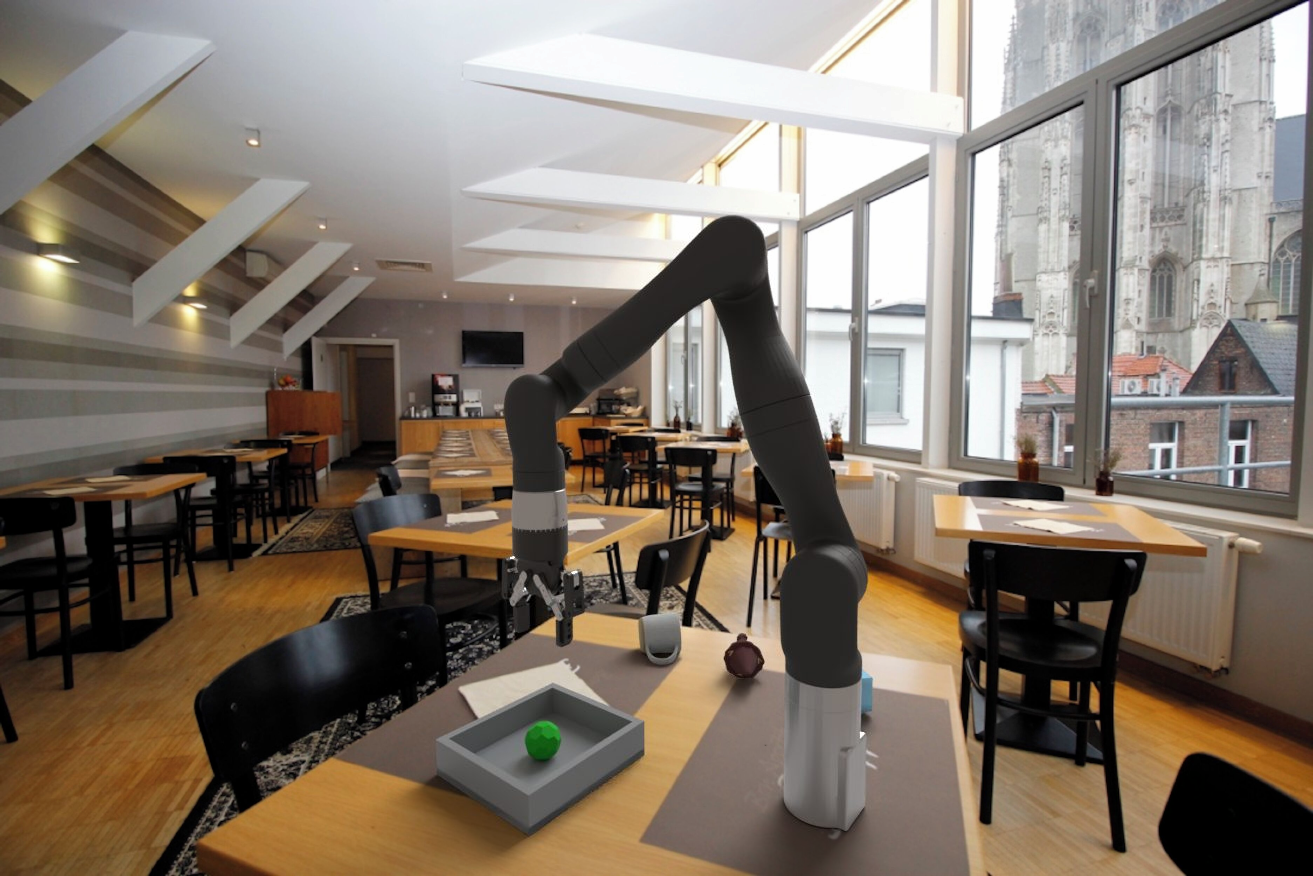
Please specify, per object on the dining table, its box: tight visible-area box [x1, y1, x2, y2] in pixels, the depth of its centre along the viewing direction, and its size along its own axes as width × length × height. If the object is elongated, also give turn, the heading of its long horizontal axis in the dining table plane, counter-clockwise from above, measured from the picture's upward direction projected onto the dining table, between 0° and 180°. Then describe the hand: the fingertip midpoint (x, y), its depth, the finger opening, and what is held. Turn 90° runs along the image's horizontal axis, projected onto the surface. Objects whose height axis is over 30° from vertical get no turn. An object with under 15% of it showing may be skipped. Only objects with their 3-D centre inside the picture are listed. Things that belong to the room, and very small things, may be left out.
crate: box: [435, 682, 646, 837], centre depth 88 cm, size 19×21×5 cm
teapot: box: [861, 668, 874, 715], centre depth 105 cm, size 12×6×8 cm, turn 11°
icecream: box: [723, 632, 765, 679], centre depth 115 cm, size 7×7×15 cm
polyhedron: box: [525, 721, 561, 760], centre depth 88 cm, size 5×5×5 cm
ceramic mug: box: [637, 611, 682, 666], centre depth 125 cm, size 11×8×8 cm
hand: (542, 637), depth 87 cm, fingers open, 8 cm apart
